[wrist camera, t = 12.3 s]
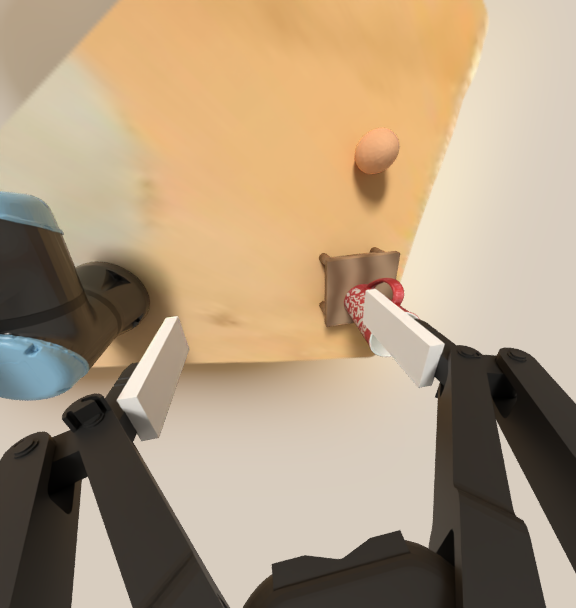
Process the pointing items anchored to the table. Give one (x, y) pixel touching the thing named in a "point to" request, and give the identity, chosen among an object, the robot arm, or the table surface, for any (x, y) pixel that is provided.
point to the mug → (356, 309)
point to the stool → (354, 279)
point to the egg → (376, 150)
